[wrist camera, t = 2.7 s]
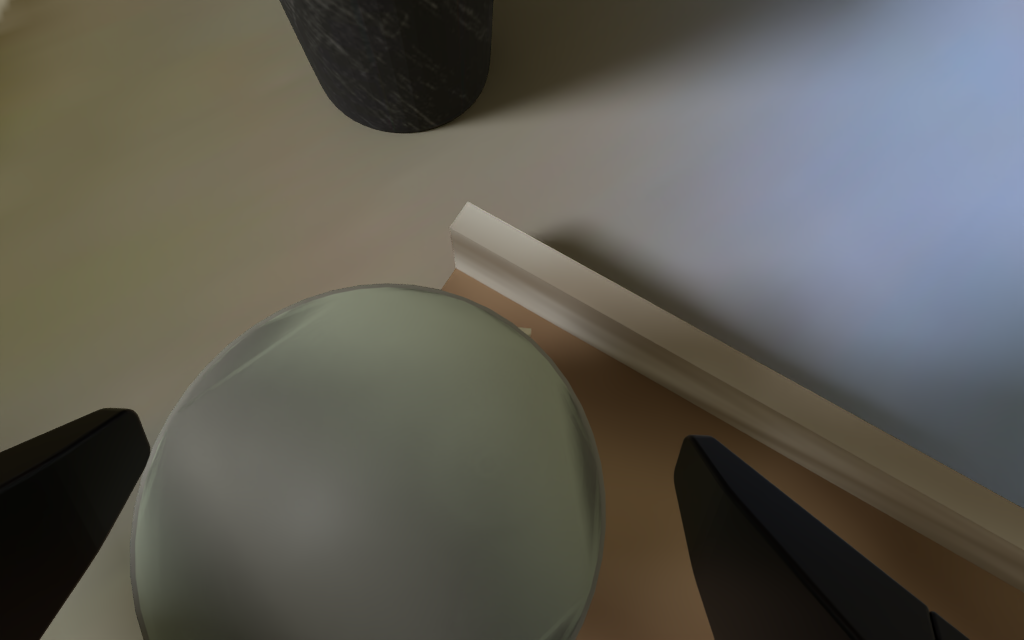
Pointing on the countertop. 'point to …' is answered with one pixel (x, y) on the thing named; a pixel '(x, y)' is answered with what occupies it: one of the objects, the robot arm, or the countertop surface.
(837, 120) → the countertop surface
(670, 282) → the countertop surface
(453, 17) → the travel mug
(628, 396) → the shelf board
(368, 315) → the tea tin
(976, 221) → the countertop surface
